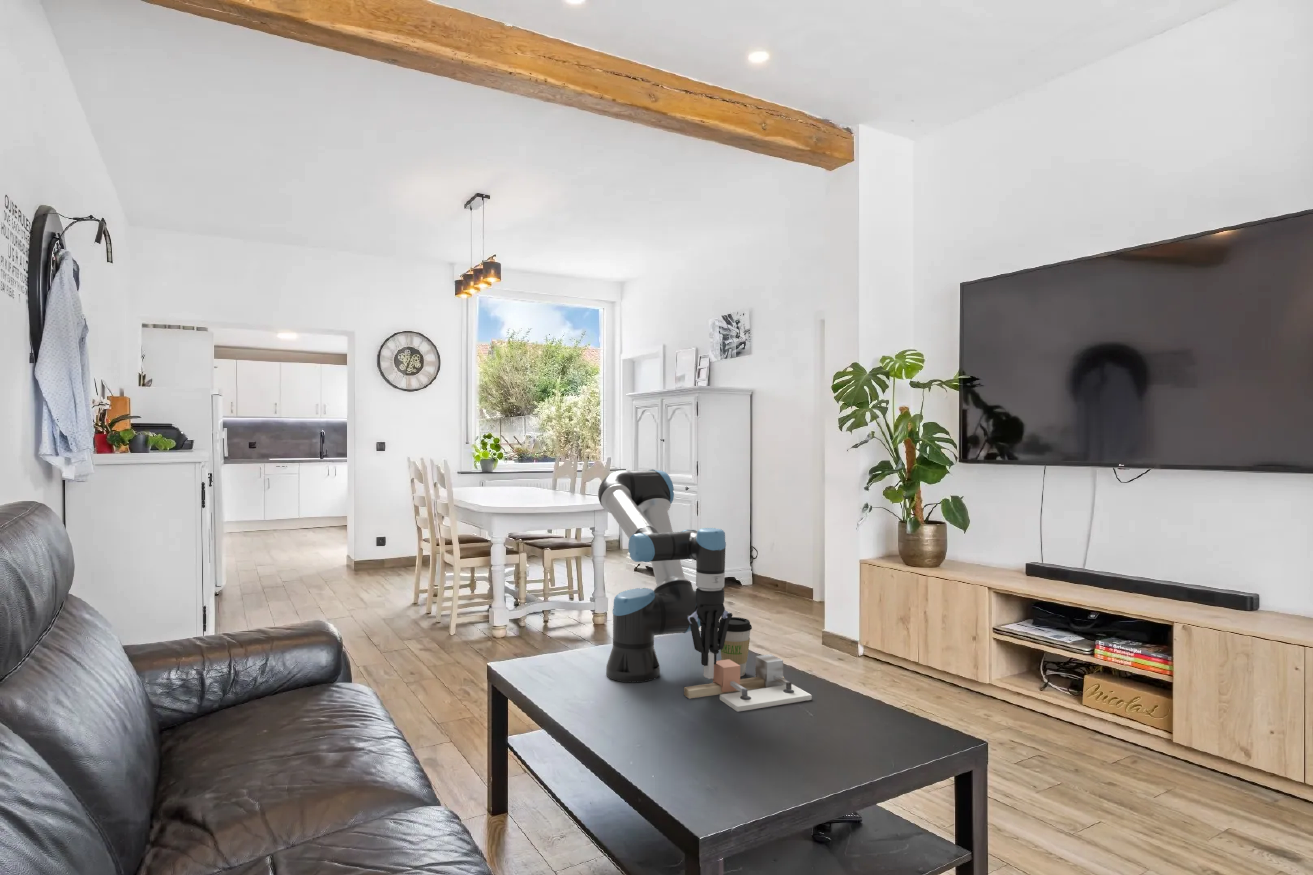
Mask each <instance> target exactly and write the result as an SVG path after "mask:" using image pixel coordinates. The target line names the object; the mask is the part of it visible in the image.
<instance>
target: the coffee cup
mask: <svg viewBox="0 0 1313 875" xmlns="http://www.w3.org/2000/svg"><path fill="white" fill-rule="evenodd" d="M720 620H721V618H720V619H719V624H720ZM718 629H719V627H718ZM752 629H753V627H752V624H751V621H750V620H749V619H748V618H745V617H739V616H732V618H731V619H730V621H729V625H728V629H727V634H726V638H725V643H724V647H723V649H722V650H721V649H720V650H719V651H720V657H721V659H720V660H727V659H730V660H731V661H733V662H735V663H737V664H738V665H740V677H743V676H745V674H746V668H747V662H748V657H749V650H750V649H749V648H750V642H751V641H750V640H751V638H750V636H751V630H752Z"/></svg>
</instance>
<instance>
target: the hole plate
mask: <svg viewBox="0 0 1313 875" xmlns="http://www.w3.org/2000/svg"><path fill="white" fill-rule="evenodd" d="M812 697H813V695H812V694H810V693H809V692H807V691H805V690H803V689H802V688H800V687H798V686H796V685H795V684H792V686H791V690H788V689H786V686H785V685H782V686H776V687H769V688H765V687H764V688H757V689H751V690H747V696H742V692H740V691H737V692H731V693H724V694H719V700H720V701H721V702H723V703H724V704H725V705H726V706H728V707H730V708H731V709H733V710H734V711H736V712H743V711H750V710H756V709H761V708H763V709H764V708H769V707H775V706H780V705H787V704H793V703H800V702H804V701H812Z"/></svg>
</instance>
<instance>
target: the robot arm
mask: <svg viewBox="0 0 1313 875" xmlns="http://www.w3.org/2000/svg"><path fill="white" fill-rule="evenodd" d="M674 490H675V488H674V484H673V481H672V479H671V477H670V475H669V474H668V472H665V471H663V470H661V469H660V470H659V469H658V470H657V469H648V470H647V469H643V470H635V469H633V470H630V469H629V470H624V469H623V470H622V469H621V470H615V471H614V472H611V473H610V474H608V475H607V476H606V477H604V478H603V480H602V481H601V483H600V484H599V487H598V490H597V492H598V493H597V496H598V501H599V503H600V505H601V507H602V509H603V510H604V511H605V512H607V513H609V514H611V515H612V517H613V518H614V519H615V521H616V523H617V524H618V525H619V527H620V528H621V529H622V531H623V533H624V534H625V535H626V537H627V538H628V552H629V553H628V554H629V558H630V559H631V561H633V562H638V563H650V562H651V566H652V570H653V575H654V579H655V583H656V586H655V587H654V589H652V588H648V587H647V588H646V587H643V588H642V587H641V588H640V587H639V588H638V587H637V588H630V589H627V590H623V591H620V592H619V593H618V594H616V595H615V596H614V599H613V605H612V606H613V607H612V649H611V651H610V654H609V657H608V659H607V662H606V669H605V670H606V676H607V677H608V678H609V679H611V680H613V681H618V682H624V683H642V682H643V683H644V682H648V681H649V682H650V681H653V680H655V679H657V678H659V676H660V674H661V672H660V671H661V666H660V665H661V664H660V662H659V659H658V656H657V652H656V649H655V636H661V635H673V634H674V635H675V634H687V633H691V637H692V643H693V646H694V650H695V651H696V652H699V653H701V656H700V657H701V658H700V660H701V662H700V663H701V665H702V666H703V677H704V678H706V679H708V680H713V678H714V664H716V661H717V655H718V654H719V653H720V651H721V650H722V649H723V647H724V643H725V638H726V634H727V629H728V625H729V621H730V619H731V618H732V617H733V613H732V612H729V611H727V610H726V608H725V607H726V606H725V605H724V603H725V589H724V588H725V580H726V578H725V576H726V575H725V574H726V573H725V571H726V570H725V569H726V546H727V542H726V532H725V530H723V529H721V528H716V527H714V528H713V527H704V528H699V529H698V530H696V529H684V530H682V531H677V532H676V531H673V527H672V524H671V520H670V516H669V513H668V511H669V510H670V508H671V505H672V503H673V501H674V498H675V492H674ZM683 560H694V561H696V562H695V563H696V564H695V565H696V567H695V570H696V572H695V575H696V576H695V587H697V588H695V589H694V588H693V584H692V582H691V581H690V580H689V579H687V578H685V574H684V570H683V566H682V563H681V561H683ZM720 619H721V620H720ZM719 621H720V624H719ZM718 627H719V629H718ZM720 649H721V650H720Z"/></svg>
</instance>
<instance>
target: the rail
mask: <svg viewBox="0 0 1313 875" xmlns="http://www.w3.org/2000/svg"><path fill="white" fill-rule="evenodd" d="M754 659H755V660H754V662H755V668H754V669H755V672H754V677H746V678H740V685H741V686H742V687H744V688H746V689H747V691H749V690H756V689H762V688H769V687H776V686H782V685H785V686H786V689H788V690H791V686H792V682H791V681H789V680H788V679H786V678H785V677H784V660H783V659H781V658H779V657H778V656H775V655H773V654H771V653H769V654H761V655H755V658H754ZM736 692H739V691H738V690H736V691H729V692H721V685H720V684H718V683H713V682H711V683H705V684H698V685H696V684H695V685H690V686H684V687H683V696H685V697H686V698H688V699H690V700H691V699H696V698H702V697H710V696H717V695H722V694H729V693H736Z"/></svg>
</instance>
